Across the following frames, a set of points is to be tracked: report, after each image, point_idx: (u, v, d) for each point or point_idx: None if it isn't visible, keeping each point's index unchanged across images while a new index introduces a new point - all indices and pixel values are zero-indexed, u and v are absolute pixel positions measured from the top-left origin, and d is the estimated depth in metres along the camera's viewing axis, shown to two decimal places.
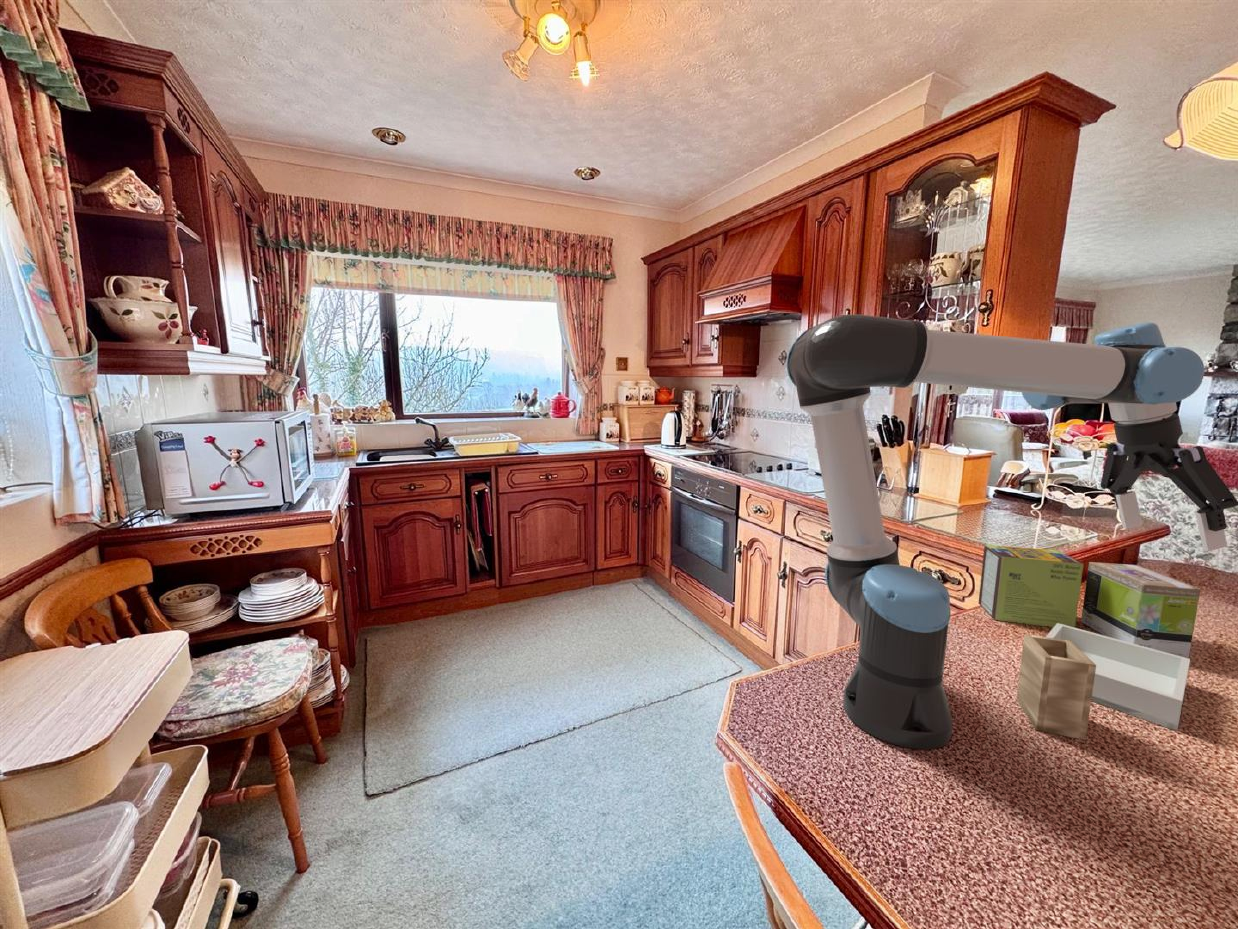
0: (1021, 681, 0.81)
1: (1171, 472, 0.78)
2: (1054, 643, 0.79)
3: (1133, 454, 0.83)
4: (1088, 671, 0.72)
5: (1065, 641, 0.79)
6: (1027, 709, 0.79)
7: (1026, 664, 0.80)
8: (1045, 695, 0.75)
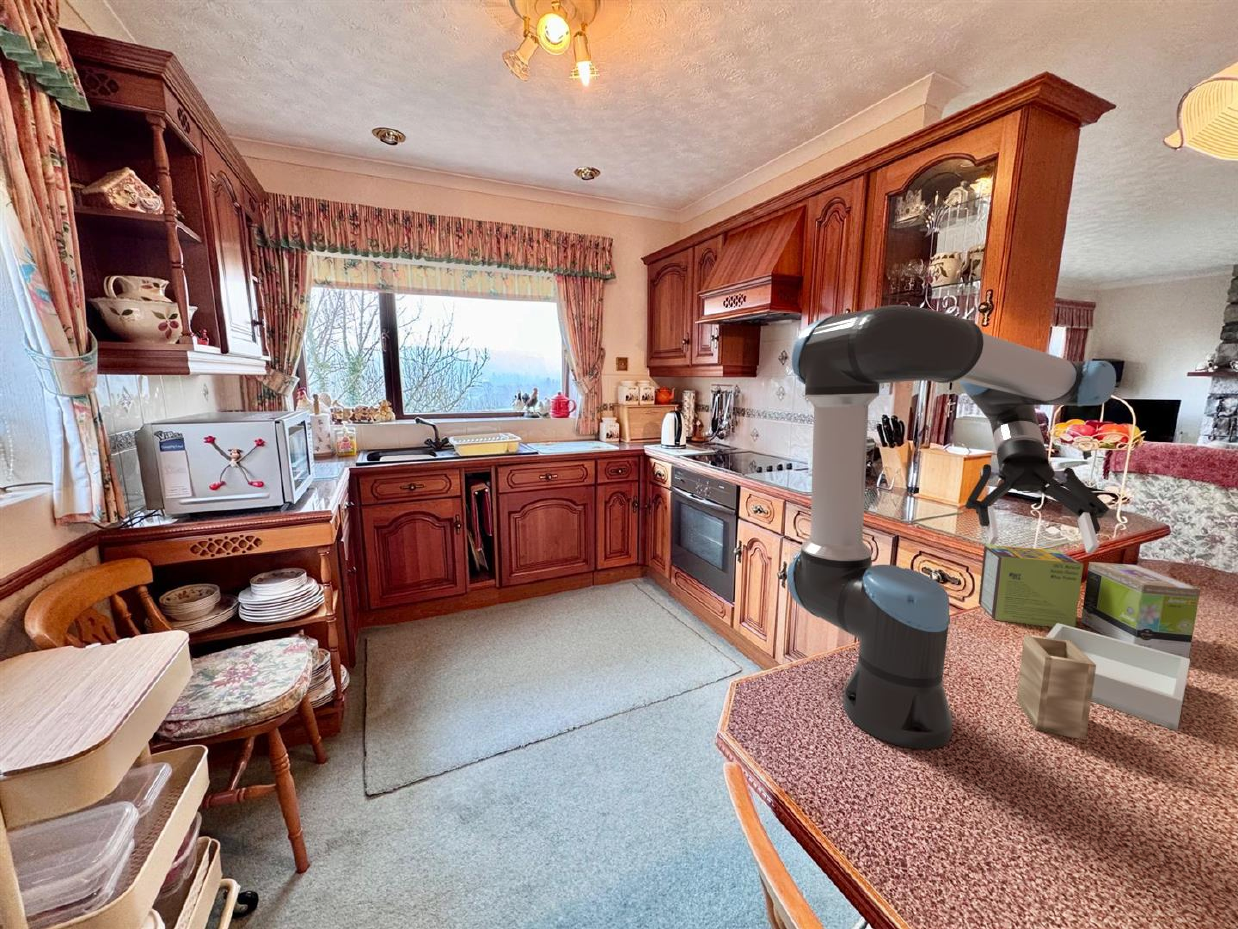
0: (1021, 681, 0.81)
1: None
2: (1054, 643, 0.79)
3: (1021, 468, 0.92)
4: (1088, 671, 0.72)
5: (1065, 641, 0.79)
6: (1027, 709, 0.79)
7: (1026, 664, 0.80)
8: (1045, 695, 0.75)
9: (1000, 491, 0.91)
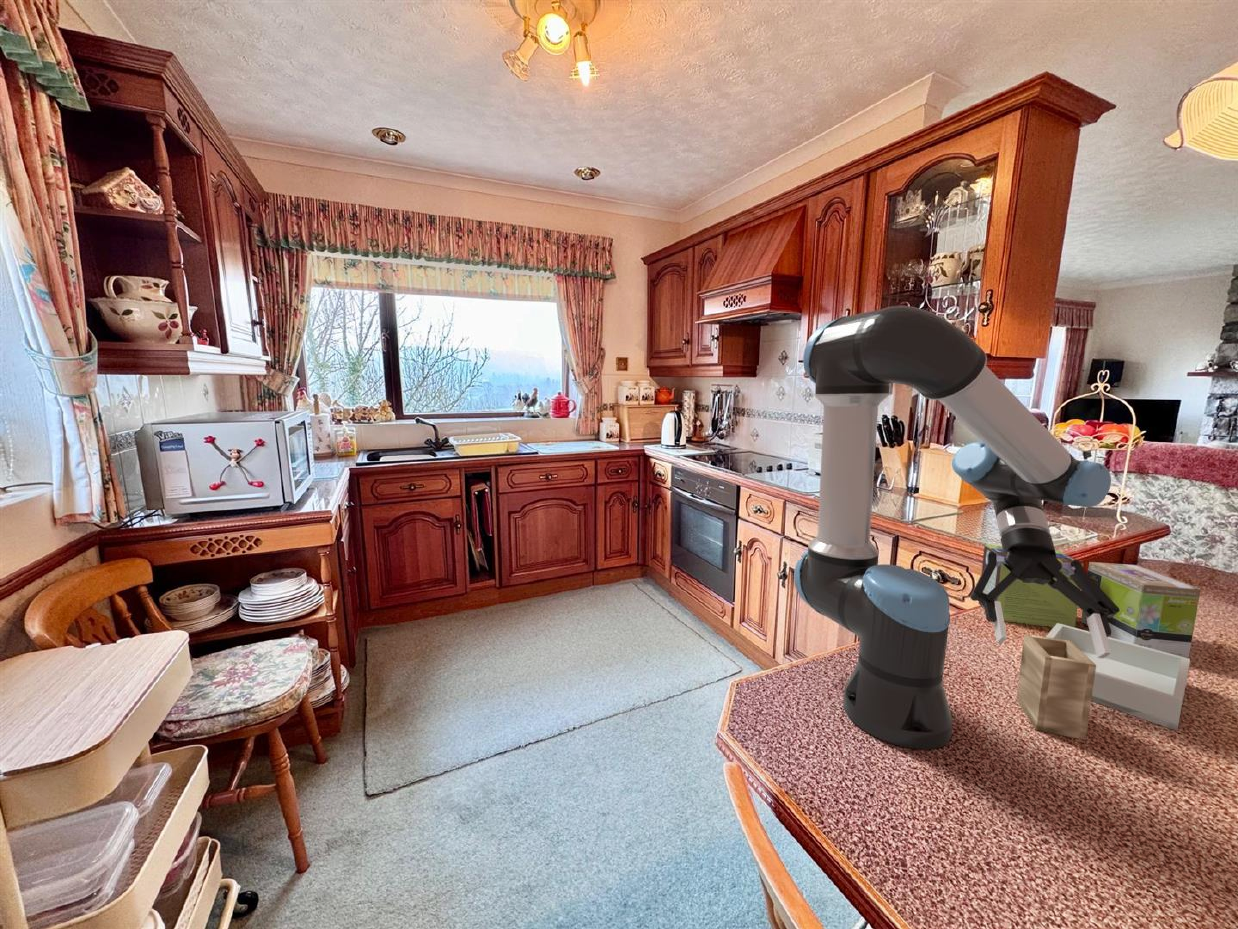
0: (1021, 681, 0.81)
1: None
2: (1054, 643, 0.79)
3: (1028, 559, 0.88)
4: (1088, 671, 0.72)
5: (1065, 641, 0.79)
6: (1027, 709, 0.79)
7: (1026, 664, 0.80)
8: (1045, 695, 0.75)
9: (1007, 584, 0.87)
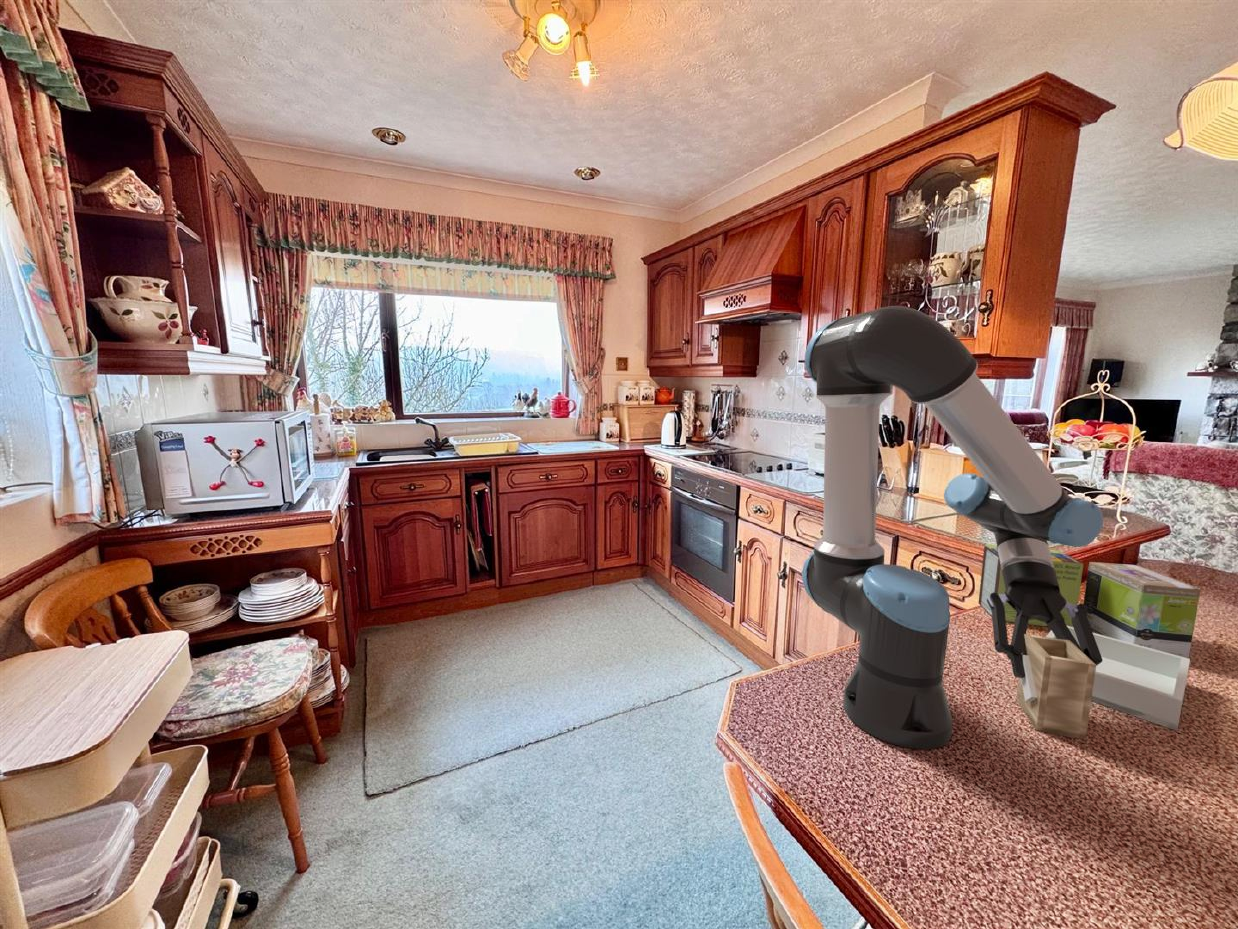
0: None
1: None
2: (1054, 643, 0.79)
3: (1029, 594, 0.84)
4: (1088, 671, 0.72)
5: (1065, 641, 0.79)
6: (1027, 709, 0.79)
7: None
8: (1045, 695, 0.75)
9: (1024, 629, 0.82)
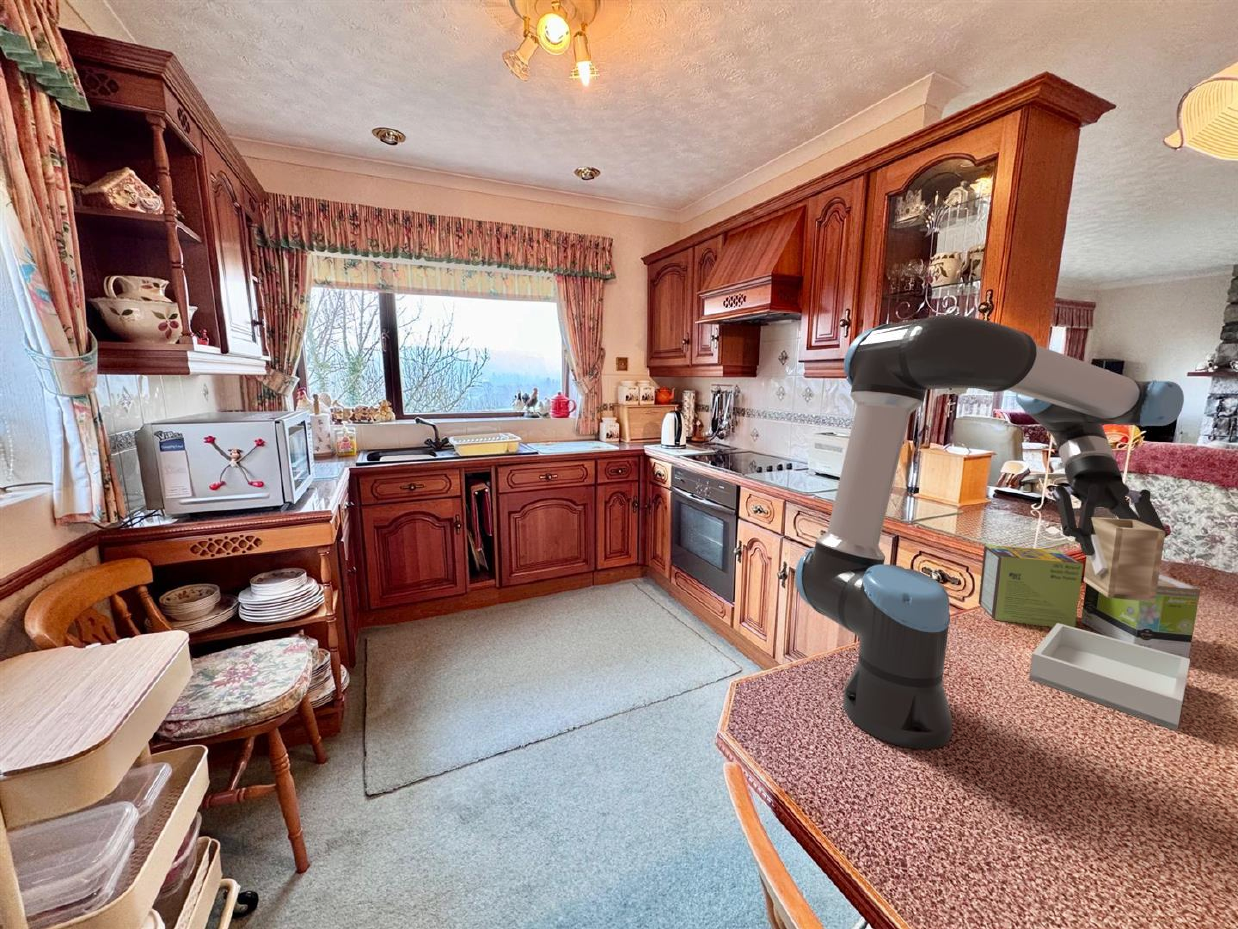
0: (1089, 561, 0.88)
1: None
2: (1120, 522, 0.86)
3: (1094, 484, 0.91)
4: (1158, 537, 0.79)
5: (1131, 520, 0.86)
6: (1096, 583, 0.85)
7: None
8: (1116, 564, 0.81)
9: (1091, 514, 0.88)
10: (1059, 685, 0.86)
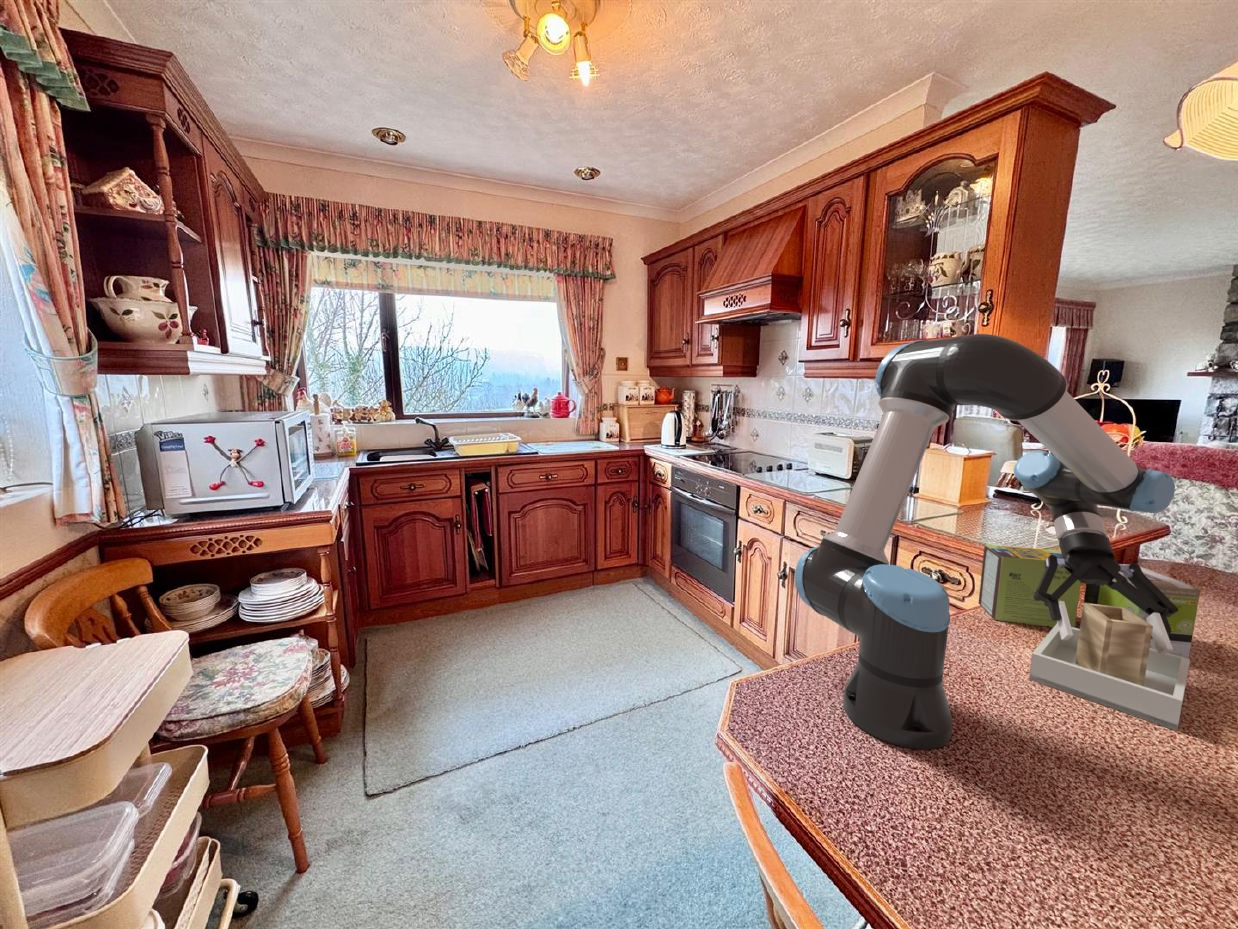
0: (1080, 645, 0.92)
1: None
2: (1110, 610, 0.90)
3: (1088, 561, 0.94)
4: (1146, 631, 0.83)
5: (1120, 608, 0.89)
6: (1087, 668, 0.89)
7: (1086, 629, 0.90)
8: (1106, 654, 0.85)
9: (1069, 585, 0.93)
10: (1059, 685, 0.86)
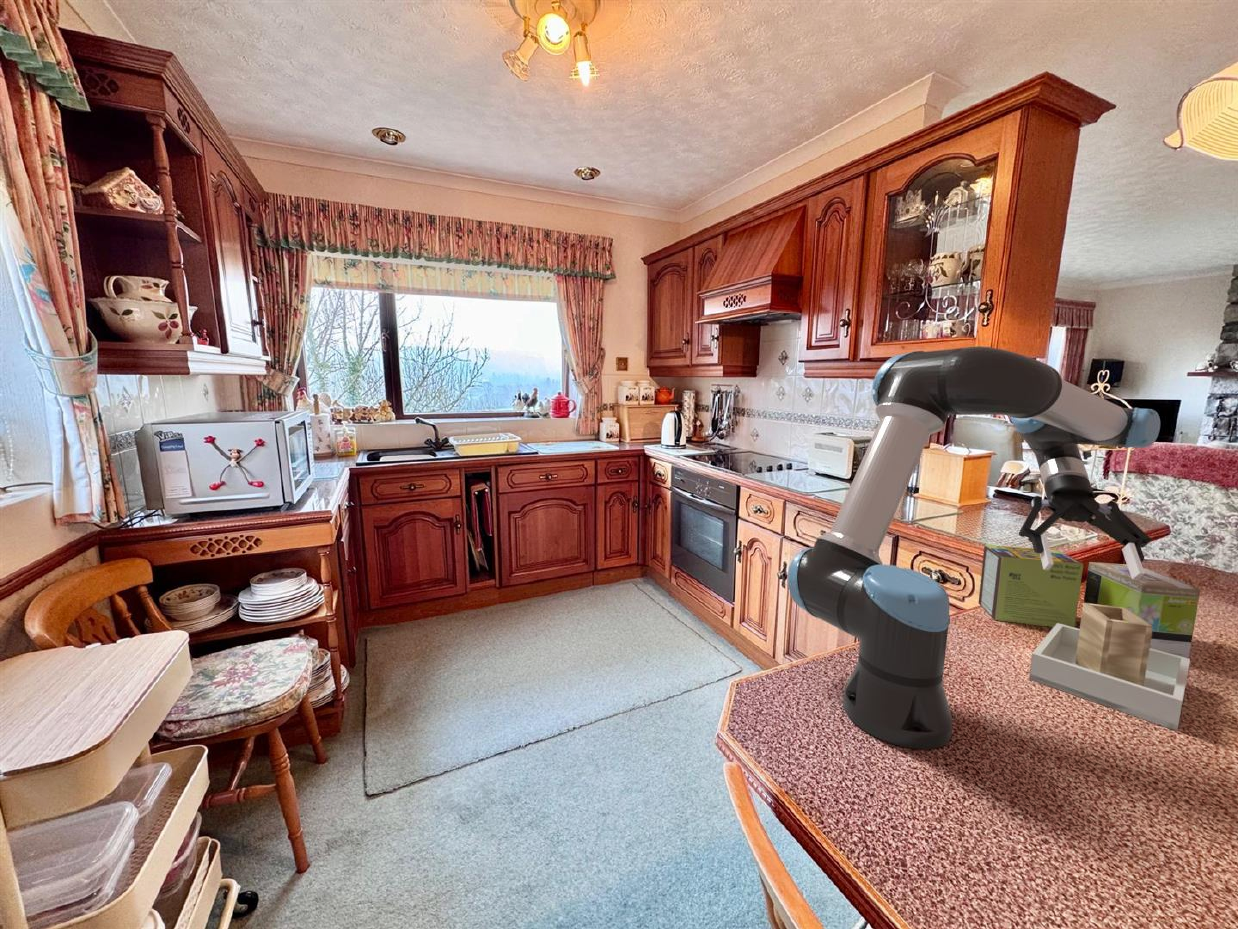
0: (1080, 645, 0.92)
1: None
2: (1110, 610, 0.90)
3: (1070, 500, 1.02)
4: (1146, 631, 0.83)
5: (1120, 608, 0.89)
6: (1087, 668, 0.89)
7: (1086, 629, 0.90)
8: (1106, 654, 0.85)
9: (1051, 521, 1.01)
10: (1059, 685, 0.86)
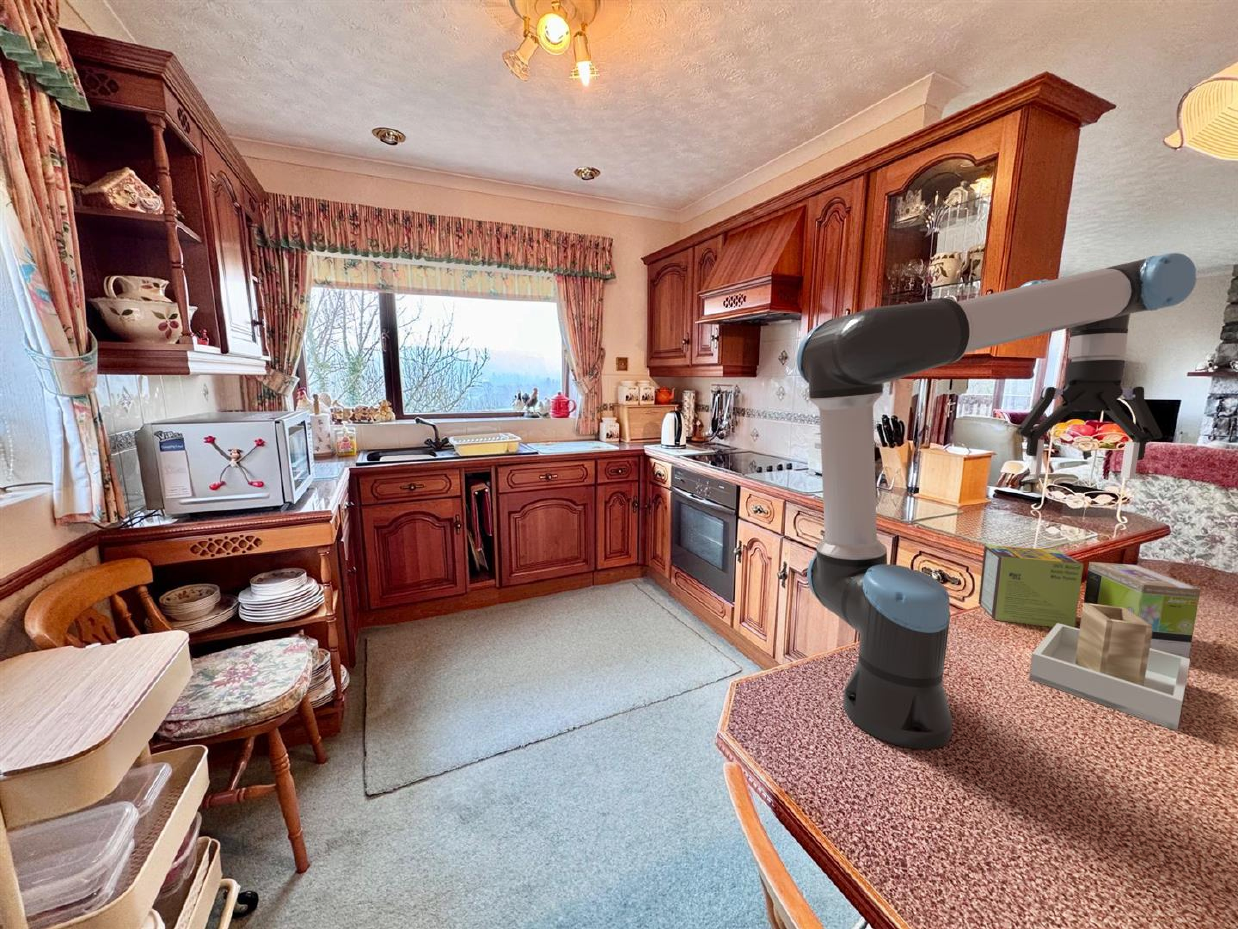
0: (1080, 645, 0.92)
1: None
2: (1110, 610, 0.90)
3: (1088, 393, 0.88)
4: (1146, 631, 0.83)
5: (1120, 608, 0.89)
6: (1087, 668, 0.89)
7: (1086, 629, 0.90)
8: (1106, 654, 0.85)
9: (1056, 421, 0.91)
10: (1059, 685, 0.86)
